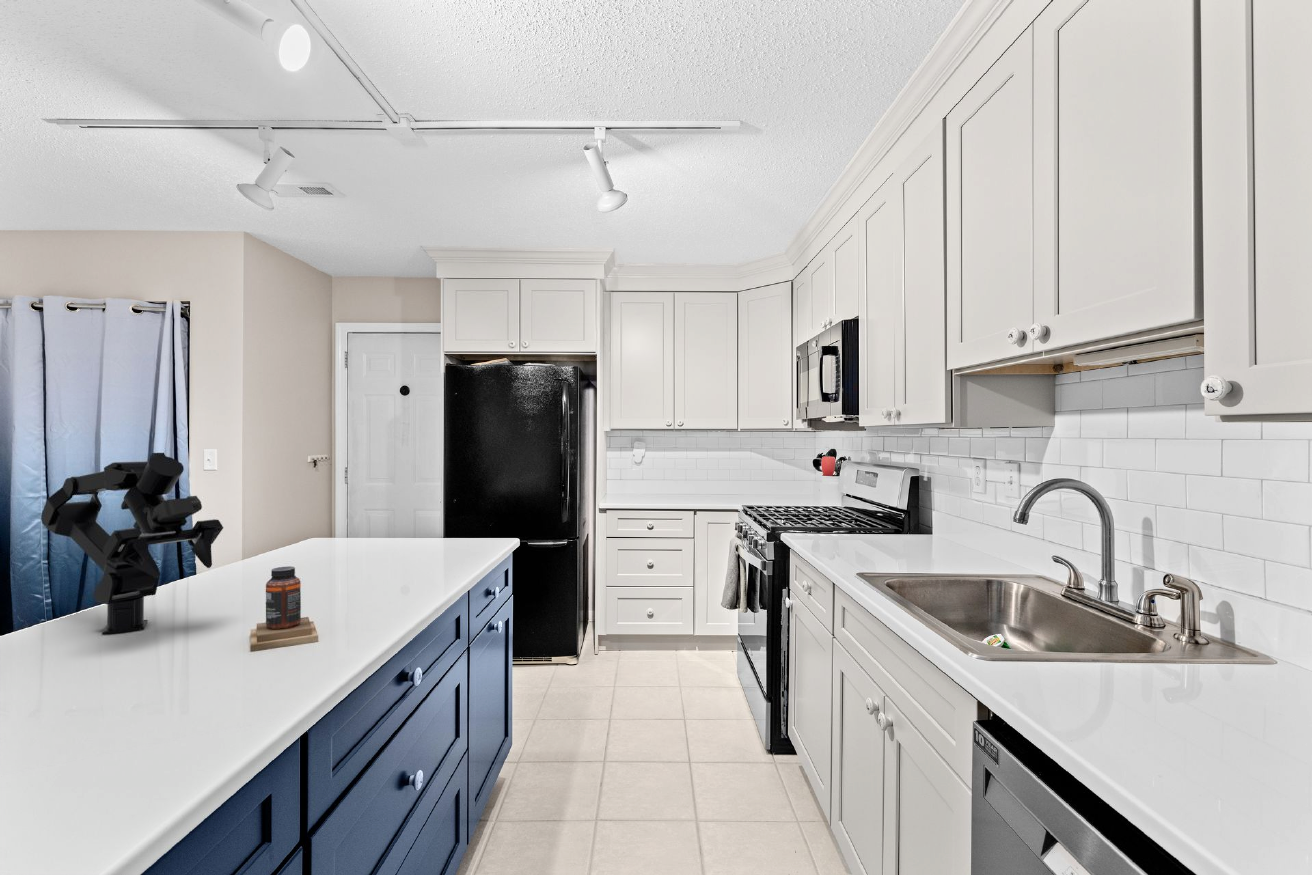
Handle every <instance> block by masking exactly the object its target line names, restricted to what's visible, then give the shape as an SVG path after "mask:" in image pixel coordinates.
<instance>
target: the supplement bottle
mask: <svg viewBox="0 0 1312 875" xmlns="http://www.w3.org/2000/svg"><path fill="white" fill-rule="evenodd" d="M270 573H271V575H270V576H271V578H270V579H269V580H268V581H266V584H265V622H266V627H267V628H270V629H284V628H290V627H293V626H296V625H297V624H299V623H300V621H301V618H302V612H301V611H302V610H301V609H302V608H301V607H302V603H301V600H302V599H301V598H302V596H301V594H302V593H301V592H302V591H301V586H302V585H301V583H302V582H301V579H300V578H299V577H297V576H296V567H295V566H291V565H290V566H279V567H275V568H272V569H271V572H270Z"/></svg>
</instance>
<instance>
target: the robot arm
mask: <svg viewBox="0 0 1312 875" xmlns="http://www.w3.org/2000/svg"><path fill="white" fill-rule="evenodd" d="M184 469H185V468H184V465H183V463H182V462H179V460H177V459H175V458H173V457H170V456H167V455H166V454H165V452H152V453H151V454H150V456H149V459H148V461H119V462H117V461H115V462H111V463H110V464H108V465H106V466H104V468H103V471H98V472H93V473H88V474H84V475H79V476H77V475H76V476H71V477H67V478H65V480H64V481H63V485H62V487H61V488H60V489H58V490H57V491H56V492H55V493H53V494H52V495H50V496H49V497H48V498H46V501H45V504H44V507H43V509H42V512H41V514H40V520H41V524H42V525H43V526H45V528H46V529H47V530H48V531H50V532H51V533H53V534H54V535H57V536H58V535H59V536H62V537H67V538H71V539H72V540H73V542H75V544H77V545H78V546H79V547H80V549H82V551H83V552H84V553H85V554H86V555H87V556H88V557H89V558H91V560H92V561H93V562H94V563H95V564H96V566H98V567H99V568H100V569H101V571H102V572H103V573H102V577H101V579H100V581H99V583H98V584H97V586H95V589H94V590H93V597H94V602H95V603H99V604H104V605H107V607H106V608H107V615H106V616H107V617H106V618H107V619H106V620H107V624H106V626H105V627H104V629H103V630H102V631H101V634H102V635H107V634H108V635H109V634H116V633H123V632H124V633H125V632H132V631H141V630H145V628H146V626H147V624H148V621H149V620H148V619H144V617H145V615H144V614H145V610H144V608H145V605H144V604H145V597H150V596H156V593H157V590H158V585H159V582H160V578H161V571H160V569H159V566H158V564H157V563H156V561H155V559H154V558H153V556H152V554H151V552H150V551H149V549H148V546H149V545H164V544H171V543H177V542H185V541H187V543H188V544H189V546H191V547H192V548H191V549H190V550H191V552H192V553H193V554H194V555H195V556H196V557H197V559H198V560H199V561H200V562H201V564H202V565H203V566H204V567H206V568H207V569H210V568H212V565H213V559H212V558H213V556H212V554H213V553H212V545H213V544H214V542H215V541H216V539H217V538H218V536H219V535H220V534H221V533H222V531H223V530H224V526H223V524H222V523H221V521H220V520H219V519H207V520H206V519H205V520H204V519H203V520H197V521H196V522H195V524H194V525H193V527H192V528H190V529H182V526H185V525H187V523H188V521H187V518H188V517H190V516H193V515H195V514H196V513H197V512H199V511H201V510H202V508H203V505H202V502H201V500H200V499H199V497H198V495H190V496H189V495H188V496H186V497H185V498H170V499H166V498H165V497H164V496H165V495H167V494H169V493H170V492H172V490H173V488H174V486H175V485H176V484H177V482H178V480H179V479H180V477H181V475H182V474H183V472H184V471H185V470H184ZM105 491H112V492H113V491H114V492H116V491H126V492H125V494H124V496H123V501H122V503H121V505H120V509H121V510H122V511H123V510H129V512H130V513H131V515H132V517H133V518H134V520H135V522H134V523H133V528H124V529H117V530H116V529H114V531H113V532H112V533H111V535H110V534H109V533H108V532H107V531H106V530H105V529H104V528H103V527H102V526H101V525H100V524H99V523H98V522H97V520H98V517H99V514H100V511H101V509H102V506H103V504H102V503H101V501H100V498H99V497H98V495H99V493H100V492H105ZM83 495H84V496H86V495H91V498H90V500H89V501H86V500H85V501H72V502H69V501H70V500H71V499H72V498H73V496H83Z"/></svg>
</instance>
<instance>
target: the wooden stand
mask: <svg viewBox="0 0 1312 875" xmlns="http://www.w3.org/2000/svg"><path fill="white" fill-rule="evenodd" d="M317 642H319V634H318V630H317V628H316V625H315V622H314V621H310V618H309V616H303V617H301V621H300V623H299V624H297V625H296V626H293V627H290V628H284V629H270V628H267V627H266V621H265V622H258V623H256V628H252V629H250V652H251V653H252V652H256V651H264V650H270V649H271V650H272V649H277V648H283V647H291V646H292V647H293V646H297V645H303V644H311V643H317Z"/></svg>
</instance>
